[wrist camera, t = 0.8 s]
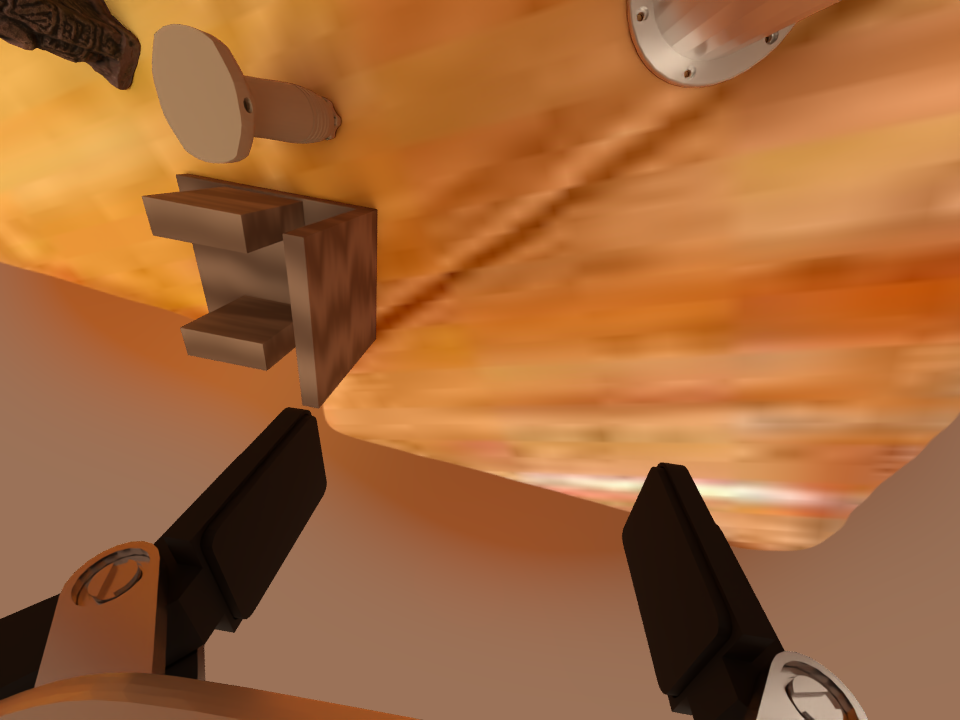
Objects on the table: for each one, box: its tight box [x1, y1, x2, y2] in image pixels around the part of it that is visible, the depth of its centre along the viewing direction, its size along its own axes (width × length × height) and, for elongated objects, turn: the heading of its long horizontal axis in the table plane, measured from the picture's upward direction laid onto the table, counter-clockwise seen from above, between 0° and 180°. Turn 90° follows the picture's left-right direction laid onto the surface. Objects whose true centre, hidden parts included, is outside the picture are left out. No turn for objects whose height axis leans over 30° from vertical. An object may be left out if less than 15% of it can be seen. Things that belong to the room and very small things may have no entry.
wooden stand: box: [142, 174, 377, 408], centre depth 35 cm, size 15×20×14 cm
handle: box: [152, 24, 341, 163], centre depth 27 cm, size 5×6×15 cm
